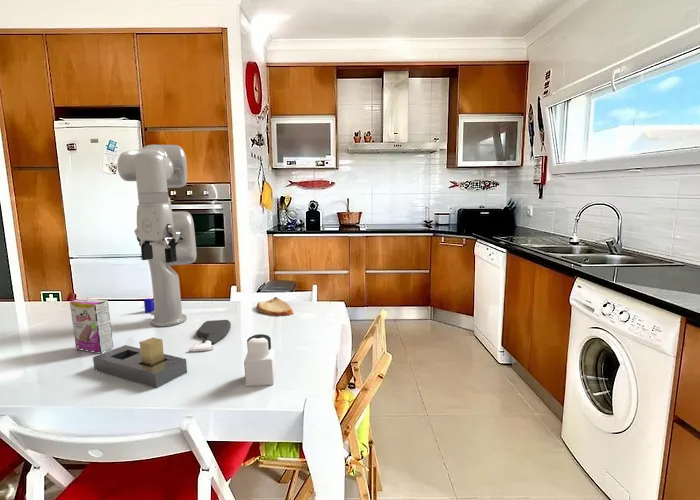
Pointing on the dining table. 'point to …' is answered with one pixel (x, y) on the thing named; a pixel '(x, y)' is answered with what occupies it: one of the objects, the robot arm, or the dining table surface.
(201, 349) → the spray bottle
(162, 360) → the brass peg
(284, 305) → the slice of bread
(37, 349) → the dining table surface
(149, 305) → the cable clip
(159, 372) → the grey peg hole block
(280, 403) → the dining table surface
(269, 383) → the medicine bottle
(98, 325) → the candy bar box
